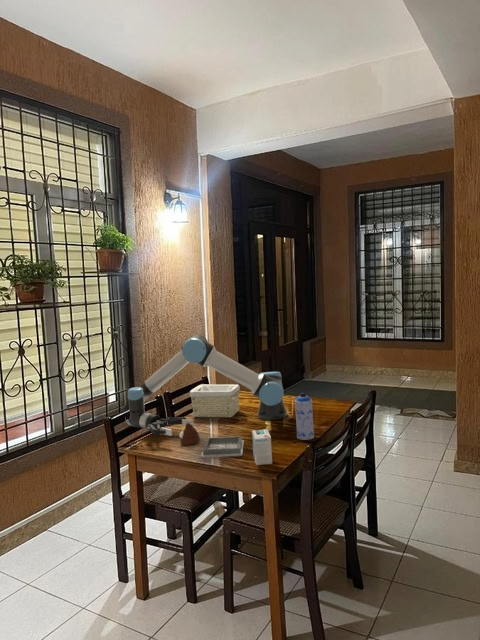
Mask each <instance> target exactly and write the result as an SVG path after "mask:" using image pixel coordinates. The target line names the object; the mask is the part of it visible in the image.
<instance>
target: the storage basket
mask: <svg viewBox="0 0 480 640" xmlns="http://www.w3.org/2000/svg"><path fill="white" fill-rule="evenodd" d="M240 389H241V387H240V384H239V383H237V384H210V383H209V384H204V383H202V384H199V385H197V386H196V387H194V388H192V389H191V390H190V391H189V396H190V398H191V399H190V400H191V407H192V413H193V417H195V418H232V417H234V416H235V415H236V414H237V412H239V410H240Z"/></svg>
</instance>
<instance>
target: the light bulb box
mask: <svg viewBox="0 0 480 640" xmlns="http://www.w3.org/2000/svg"><path fill="white" fill-rule="evenodd" d="M251 437H252V438H251V439H252V454H253V460H254V462H255V465H256V466H261V465H270V464H271V465H272V464H273V453H272V437H271V434H270V432H269V430H268V428H265V429H255V430H254V429H253V430H251Z"/></svg>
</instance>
